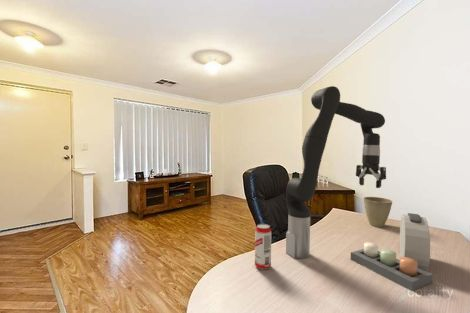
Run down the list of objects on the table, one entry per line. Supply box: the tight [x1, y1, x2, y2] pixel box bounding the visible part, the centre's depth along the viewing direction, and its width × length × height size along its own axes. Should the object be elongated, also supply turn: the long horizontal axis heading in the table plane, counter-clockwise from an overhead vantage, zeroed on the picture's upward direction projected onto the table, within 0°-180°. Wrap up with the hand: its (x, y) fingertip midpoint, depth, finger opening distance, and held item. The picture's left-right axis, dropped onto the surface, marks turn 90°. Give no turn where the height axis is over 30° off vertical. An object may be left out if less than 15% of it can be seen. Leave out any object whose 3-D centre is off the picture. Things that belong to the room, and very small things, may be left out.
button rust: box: [399, 256, 418, 277], centre depth 80 cm, size 5×5×4 cm
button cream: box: [363, 242, 379, 258], centre depth 93 cm, size 5×5×4 cm
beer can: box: [254, 223, 272, 271], centre depth 88 cm, size 6×6×16 cm
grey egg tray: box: [350, 248, 434, 292], centre depth 87 cm, size 12×23×3 cm, turn 24°
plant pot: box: [363, 196, 393, 228], centre depth 139 cm, size 15×15×16 cm
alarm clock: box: [399, 212, 431, 272], centre depth 93 cm, size 21×8×20 cm, turn 148°
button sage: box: [380, 248, 397, 267], centre depth 87 cm, size 5×5×4 cm
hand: (369, 186), depth 114 cm, fingers open, 8 cm apart
